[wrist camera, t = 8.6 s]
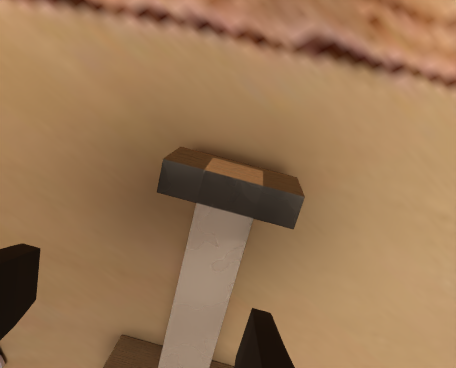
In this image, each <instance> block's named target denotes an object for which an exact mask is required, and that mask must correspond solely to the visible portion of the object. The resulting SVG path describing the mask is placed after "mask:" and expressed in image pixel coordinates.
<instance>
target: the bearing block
mask: <svg viewBox="0 0 456 368" xmlns="http://www.w3.org/2000/svg"><path fill="white" fill-rule="evenodd" d="M162 348H163V346H159V345H156V344H152V343H149V342H145V341H142V340H138V339H135V338H131V337H128V336H124V335H122V336H121V337H120V339H119V341H118V343H117V344H116V346H115V348H114V350H113V351H112V353H111V355H110V357H109V358H108V360H107V362H106V364H105V365H104V367H103V368H158V365H159V361H160V357H161V353H162ZM209 368H234V367H233V366H230V365H226V364H223V363H219V362H216V361H212V360H211V363H210V367H209Z"/></svg>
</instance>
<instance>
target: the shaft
mask: <svg viewBox="0 0 456 368" xmlns="http://www.w3.org/2000/svg"><path fill="white" fill-rule="evenodd" d="M157 192H158V193H161V194H165V195H169V196H172V197H176V198H180V199H183V200H187V201H191V202H194V203H196V207H195V211H194V216H193V220H192V224H191V228H190V233H189V237H188V241H187V246H186V250H185V254H184V258H183V263H182V267H181V271H180V275H179V280H178V284H177V288H176V293H175V297H174V301H173V305H172V310H171V314H170V318H169V323H168V327H167V331H166V335H165V340H164V344H163V348H162V353H161V357H160V361H159V365H158V368H209V367H210V363H211V360H212V357H213V353H214V350H215V346H216V343H217V340H218V336H219V333H220V330H221V326H222V323H223V319H224V316H225V313H226V309H227V306H228V303H229V299H230V296H231V292H232V289H233V286H234V282H235V279H236V276H237V272H238V269H239V265H240V262H241V259H242V255H243V252H244V249H245V245H246V242H247V238H248V235H249V232H250V228H251V225H252V222H253V219H257V220H261V221H264V222H268V223H272V224H276V225H279V226H283V227H287V228H290V229H294V227H295V224H296V221H297V218H298V215H299V212H300V209H301V206H302V203H303V201H304V198H305V196H304V194H303V191H302V189H301V186H300V184H299V181H298V179H297V178H296V177H293V176H289V175H285V174H282V173H278V172H274V171H270V170H267V169H263V168H259V167H255V166H252V165H248V164H244V163H240V162H237V161H233V160H229V159H225V158H222V157H218V156H214V155H210V154H207V153H203V152H199V151H195V150H192V149H188V148H184V147H179V148H178V149H177V150H175V151H174V152H172V153H171V154H170V155H168V156H167V157H165V158H164V159H163V163H162V168H161V173H160V178H159V184H158V189H157Z"/></svg>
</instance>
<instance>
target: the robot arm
mask: <svg viewBox="0 0 456 368" xmlns="http://www.w3.org/2000/svg"><path fill="white" fill-rule="evenodd" d="M39 259H40V248H37V247H34V246H30V245H26V244H18V245H14V246H10V247H7V248H3V249H0V340H1V339H2V338H3V337H4V336H5V335H6V334H7V333H8V332H9V331H10V330H11V329H12V328H13V327H14V326H15V325H16V324H17V322H18V321H19V320H20V319H21V318H22V317H23V315H24V314H25V313H26V312H27V310H28V309H29V308H30V307H31V305H32V304H33V303H34V301H35V300H36V293H37V282H38V270H39ZM4 365H5V362H4V360H3V358H2V356H1V355H0V368H2V367H3V366H4ZM234 368H295V367H294V365H293V363H292V361H291V359H290V357H289V355H288V353H287V350H286V348H285V346H284V344H283V341H282V339H281V337H280V334H279V332H278V329H277V327H276V324H275V322H274V319H273V317H272V315H271V313H268V312H265V311H261V310H258V309H254V308H252V310H251V313H250V316H249V319H248V322H247V325H246V328H245V331H244V334H243V337H242V340H241V343H240V346H239V349H238V352H237V355H236V360H235V367H234Z"/></svg>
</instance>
